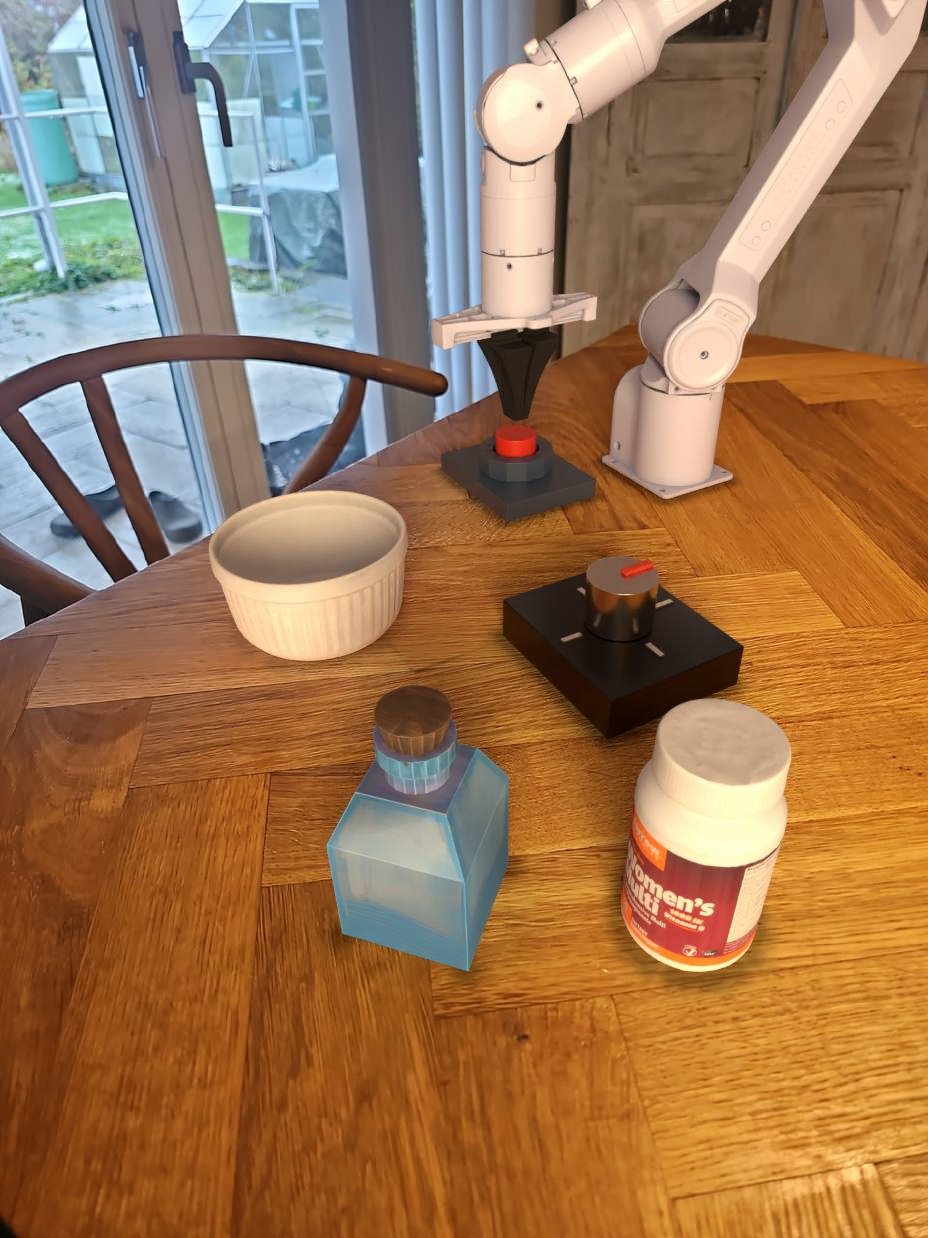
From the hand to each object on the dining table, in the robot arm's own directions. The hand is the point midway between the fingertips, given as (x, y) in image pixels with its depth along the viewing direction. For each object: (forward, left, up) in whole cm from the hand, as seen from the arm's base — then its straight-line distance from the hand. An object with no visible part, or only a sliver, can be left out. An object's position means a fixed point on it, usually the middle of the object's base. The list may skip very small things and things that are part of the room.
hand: (515, 416), depth 73 cm
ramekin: (+11, -23, -7) cm, 26 cm away
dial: (+25, -8, -3) cm, 27 cm away
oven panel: (+26, -8, -6) cm, 27 cm away
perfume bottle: (+36, -27, -7) cm, 45 cm away
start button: (0, 0, -3) cm, 3 cm away
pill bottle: (+43, -17, -7) cm, 47 cm away
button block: (0, 0, -6) cm, 6 cm away
